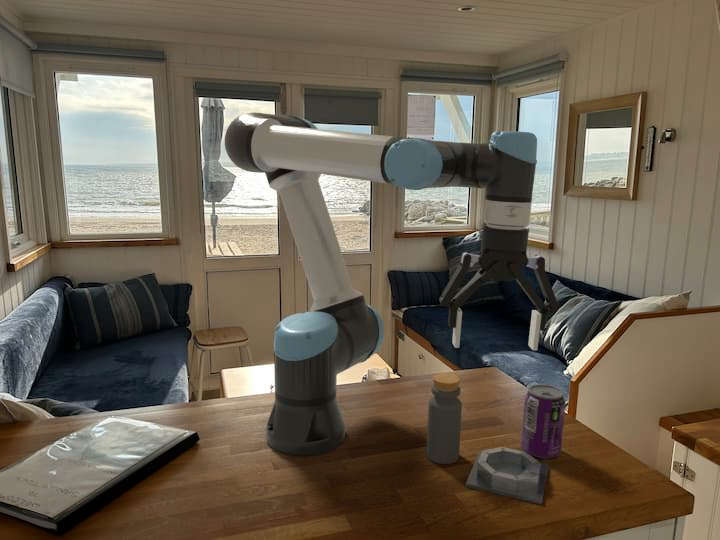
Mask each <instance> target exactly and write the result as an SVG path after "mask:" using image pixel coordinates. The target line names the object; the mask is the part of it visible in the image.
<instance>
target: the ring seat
mask: <svg viewBox="0 0 720 540" xmlns="http://www.w3.org/2000/svg"><path fill="white" fill-rule="evenodd" d="M549 466H550V465H549V463H544V462H540V461H539V460H537V459H536V458H534V456H533V455H531V454H530V453H528V452H526V451H525V450H518V449H513V448H509V447H505V446H499V447H494V448H490V449H485V450H482V449H479V452H478V455H477V457H476V458H475V462H474V463H473V466H472V468H471V471H470V473H469V475H468V477H467V479H466V482H465V487H466V488H470V489H473V490H474V489H475V490H479V491H482V492H483V491H484V492H486V493H487V492H488V493H491V494H497V495H500V496H503V497H508V498H513V499H516V500H520V501H521V500H522V501H525V502H529V503H534V504H537V505H542V503H543V498H544V492H545V487H546V483H547V481H546V480H547V478H548V477H547V476H548V471H549Z"/></svg>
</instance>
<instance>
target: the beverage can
mask: <svg viewBox="0 0 720 540" xmlns="http://www.w3.org/2000/svg"><path fill="white" fill-rule="evenodd" d="M564 395H565V393H564V391H563V390H562V389H561V388H559V387H557V386H553V385H549V384H543V383H542V384H541V383H540V384H538V383H537V384H532V385H529V386H528V387H527V392H526V394H525V395H524V403H523V404H524V405H523V414H522V429H521V441H520V445H521V446H520V447H521V449H523V451H524V452H526V453H528V454H529V455H530V456H532V457H536V458H540V459H550V458H555V457H557V456H559V455H560V454H561V453H562V445H563V434H564V433H563V432H564V423H565V412H566V400H565V397H564Z"/></svg>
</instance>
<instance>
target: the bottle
mask: <svg viewBox="0 0 720 540" xmlns="http://www.w3.org/2000/svg"><path fill="white" fill-rule="evenodd" d="M432 380H433V384H432V385H431V394H432V395H433V396H431V397H430V398H429V400H428V415H427V435H426V436H427V437H426V458H428V460H430V461H432V462H434V463H436V464H441V465H448V464H449V465H450V464H453V463H456V462H458V460H459V458H460V444H461V430H462V429H461V426H462V412H463V411H462V408H463V407H462V406H463V404H462V401H461V399H460V398H458V397H459V396H460V395H461V387H460V386H459V385H460V382H461V379H460V377H458V376H457V375H456V374H451V373H438V374H435V375H433V377H432Z"/></svg>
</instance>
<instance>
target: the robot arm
mask: <svg viewBox="0 0 720 540" xmlns="http://www.w3.org/2000/svg"><path fill="white" fill-rule="evenodd" d="M224 147H225V151H226V154H227V156H228V158H229V159H230V161H231V162H232V163H233V164H234V165H235V166H236V167H237V168H239V169H241V170H243V171H246V172H250V173H258V174H259V173H260V174H261V173H264V174H265V177H266V179H267V183H268V186H269V188H270V189H272V190H274V191H276V192H277V193H278V194H279V196H280V199H281V203H282V205H283V208H284V212H285V214H286V218H287V220H288V221H287V222H288V224H289V227H290V230H291V233H292V237H293V240H294V243H295V245H296V249H297V251H298V255H299V258H300V261H301V264H302V268H303V270H304V273H305V277H306V279H307V282H308V283H307V284H308V286H309V289H310V293H311V296H312V298H313V303H312V305H311V307H310V309H309V311H306V312H304V313H302V312H298V313H294V314H291V315H288V316H286V317H284V318H283V319H282V320H281V321H280V322H278V324H277V325H276V327H275V330H274V340H273V345H272V346H273V361H274V362H273V363H274V402H273V404H272V407H271V411H270V413H269V416H268V420H267V423H266V427H265V435H266V437H265V439H266V442H267V444H268V445H269V446H270V447H271V449H274V450H276V452H281V453H283V454H286V455H290V456H299V457H300V456H301V457H302V456H307V457H308V456H316V455H321V454H326V453H328V452H331V451H333V450H335V449H336V448H338V447H339V446H341V445H342V443H344V441H345V438H346V437H345V436H346V424H345V420H344V417H343V414H342V411H341V408H340V405H339V401H338V399H337V376H338V375H339V374H340V373H343V372H346V370H348V369H350V368H352V367H354V366H357V365H358V364H362V363H364V362H366V361H368V360H369V359H370V358H371V357H373V356H374V355H375V354H377V352H378V351H379V350H380V348H381V347H382V345H383V341H384V339H385V338H384V337H385V326H384V321H383V319H382V316H381V314H380V313H379V312H378V311H377V309H374V308H373V307H372V305H369V304H367V303H366V299H365V296H364V293H362V292H360V291H358V290H357V289H355V288H354V287H353V283H352V280H351V277H350V275H349V271H348V267H347V265H346V262H345V259H344V256H343V253H342V249H341V247H340V244H339V241H338V237H337V235H336V231H335V229H334V225H333V222H332V219H331V216H330V212H329V209H328V205H327V203H326V201H325V196H324V194H323V192H322V188H321V185H320V182H319V179H320V177H321V175H326V176H332V177H333V176H334V177H340V178H346V179H347V178H348V179H354V180H360V181H366V182H367V181H369V182H372V183H373V182H374V183H381V184H388V185H393V186H396V187H398V188H400V189H403V190H409V191H410V190H411V191H420V190H424V189H435V188H437V189H438V188H453V187H455V188H470V189H471V188H472V189H473V188H474V189H475V188H477V189H485V199H484V200H485V201H484V211H483V223H485V224H486V225H484V226H483V227H482V235H481V244H480V251H479V253H478V254H473V253H468V251H463V252H462V253H461V256H460V262H459V265H458V266H457V268H456V270H455V271H454V273H453V274H452V277H451V278H450V280H449V281H448V282H447V284H446V286H445V287H444V289H443V291H442V293H441V295H440V296H439V298H438V301H439V303H440V304H441V306H442V307H444V308H448V319H447V323H448V326H449V328H450V329H452V330H453V331H452V339H451V340H452V342H451V343H452V345H453V347H454V348H455V349H459V348H460V342H461V334H462V333H461V331H462V320H463V318H462V317H463V311H462V309H461V308H460V307H461V306H463V304H464V303H466V302H467V300H468V299H469V298H471V296H472V295H474V293H475V292H476V291H477V290H479V289H480V287H481V286H483V285H484V284H485V283H487V282H488V281H489V280H491V281H492V282H501V281H503V282H506V283H507V282H508V283H511V282H512V281H514V280H515V281H516V282H517V283H518V285H519V286H520V287H521V289H522V290H523V292H524V293H525V294H526V295H527V297H528V298H529V299H530V301H531V302H532V304H533V305H534V306H535V308H536V309H537V310H536V309H532V310H531V318H530V326H529V335H528V343H527V344H528V347H529V348H530V349H531V350H532V351H538V349H539V348H538V347H539V341H540V340H539V339H540V338H539V337H540V332H544V331H545V330H546V323H547V317H548V315H550V313H551V311H554V312H555V311H558V310H559V309H560V305H559V303H558V300H557V297H556V295H555V292H554V290H553V288H552V285H551V282H550V280H549V277H548V274H547V272H546V259H545V258H544V257H543V256H542V255H540V254H534V256H527V251H528V243H529V242H528V241H529V233H530V231H529V229H527V228H526V227H528V226H530V221H531V210H532V201H533V193H534V183H535V178H536V177H535V176H536V175H535V174H536V169H537V168H536V167H537V163H538V160H537V154H538V153H537V151H538V137H537V136H536V135H535V134H534V133H532V132H530V131H529V132H528V131H518V130H517V131H514V130H512V131H510V130H509V131H508V130H503V131H501V130H498V131H497V130H496V131H493V132H492V133H491V135H490V139H489V142H485V143H474V142H457V141H456V142H455V141H446V140H445V141H441V140H431V139H425V138H418V137H402V136H401V137H400V136H390V135H384V134H383V135H382V134H380V135H379V134H371V133H361V132H351V131H342V130H341V131H339V130H332V129H331V130H330V129H321V128H318V127H317V126H316V125H315V124H314V123H313V122H311V121H309V120H308V119H305V118H302V117H299V116H297V115H280V114H273V113H272V114H271V113H264V112H255V111H253V112H246V113H244V114H241V115H239V116H237V117H236V118H234V119H233V120H232V121H231V122H230V123H229V125H228V126H227V129H226V131H225V135H224ZM476 263H478V265H479V267H480V269H478V271H477V272H476V273H475V275H474V276H473V277H472V278H471V279H470V280H469V281H468V282H467V284H465V286H463V287H462V288H461V289H460V290H459V291H458V292H457V290H458V289H459V287H460V285H461V284H462V282H463V280H464V279H465V277H466V275H467V274H468V272H469V269H470V268H473V266H474V265H475V264H476ZM528 265H529V267H530V268H531V269H533V271H534V274H535V277H536V279H537V282H538V284H539V287H540V289H541V292H542V295H543V297H544V299H545V300H544V301H545V302H544V301H543V300H542V299H541V297H540V296H539V294H538V293H537V292H536V291H535V289H534V287H533V286H532V285H531V284H530V282H529V281H528V279H527V277H525V275H524V274H523V272H524V271H523V270H525V269H526V267H527V266H528ZM456 292H457V293H456ZM455 293H456V294H455Z"/></svg>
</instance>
